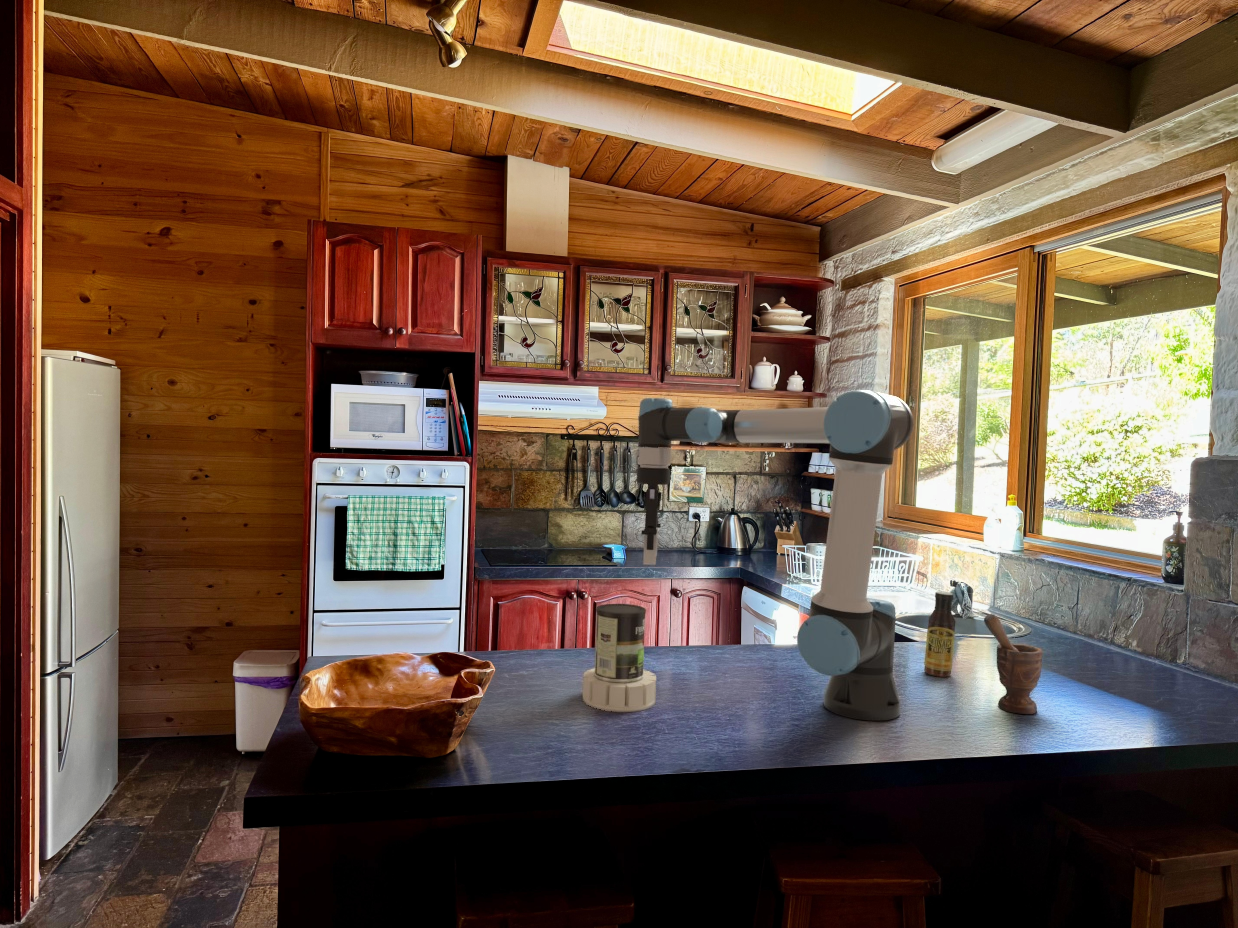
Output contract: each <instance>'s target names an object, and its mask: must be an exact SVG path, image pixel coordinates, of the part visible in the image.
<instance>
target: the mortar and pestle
mask: <svg viewBox="0 0 1238 928" xmlns="http://www.w3.org/2000/svg"><path fill="white" fill-rule="evenodd" d="M983 621H984V624H985V626H986V628H987V629H988V630H989V633H991V634H992V635H993V637H994V638H995V639H996V641H997V642H998V643H999V644H998V645H997V646H996V669H997V673H998V675H999V682H1000V684H1001V685H1002V686H1003V687H1004V688H1005V692H1006V693H1005V694H1004V695H1003V696H1001V697H999V700H998V702H997V705H998V708H1000V709H1001V710H1003V711H1005V712H1009V713H1013V714H1020V715H1033V714H1036V713H1038V707H1037V706H1038V705H1037V703H1036V702H1035V701H1034V700H1033V699H1032V698H1031V696H1030V694H1031V692H1033V690H1034V689H1036V687H1037V686H1038V681H1039V680H1040V678H1041V675H1042V674H1041V673H1042V662H1043V649H1042V648H1039V647H1036V646H1033V645H1030V644H1023V643H1012V642H1011V640H1010V639H1009V636H1008V634H1007V632H1006V630H1005V628H1004V626H1003V623H1002V622H1001V620H1000V619H999V617H997V615H995V614H993V613H991V614H987V615H986V616H985V617H983Z"/></svg>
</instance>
